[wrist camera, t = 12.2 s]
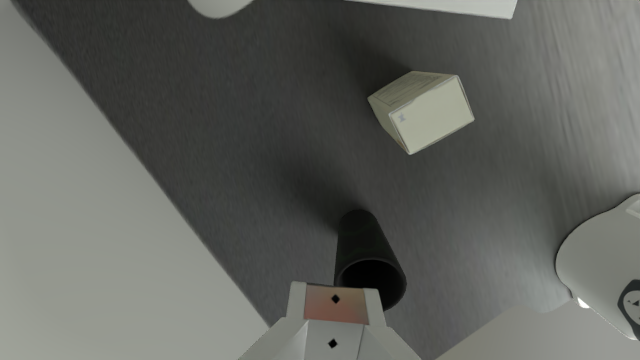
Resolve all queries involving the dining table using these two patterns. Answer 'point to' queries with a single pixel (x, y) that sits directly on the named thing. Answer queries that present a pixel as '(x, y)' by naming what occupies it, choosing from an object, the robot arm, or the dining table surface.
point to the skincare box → (421, 108)
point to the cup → (368, 259)
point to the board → (456, 6)
